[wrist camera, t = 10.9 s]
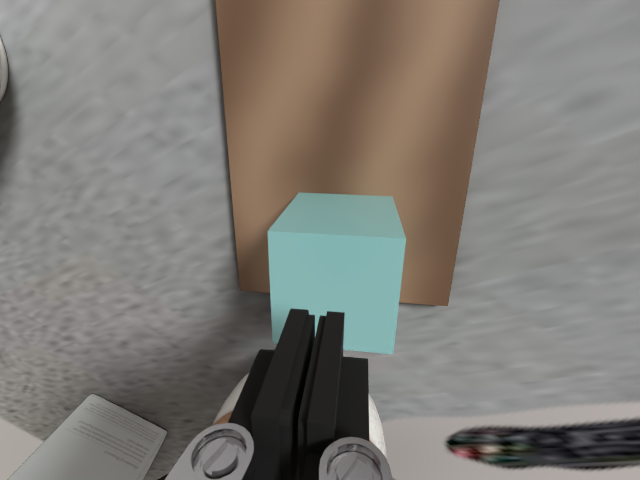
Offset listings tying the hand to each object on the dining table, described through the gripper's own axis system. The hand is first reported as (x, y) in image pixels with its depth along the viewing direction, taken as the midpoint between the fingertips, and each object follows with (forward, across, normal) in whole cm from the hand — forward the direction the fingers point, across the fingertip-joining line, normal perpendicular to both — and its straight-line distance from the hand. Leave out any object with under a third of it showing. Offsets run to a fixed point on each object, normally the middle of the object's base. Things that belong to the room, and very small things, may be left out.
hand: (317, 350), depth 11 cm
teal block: (+10, 0, 0) cm, 10 cm away
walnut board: (+11, 0, -6) cm, 12 cm away
